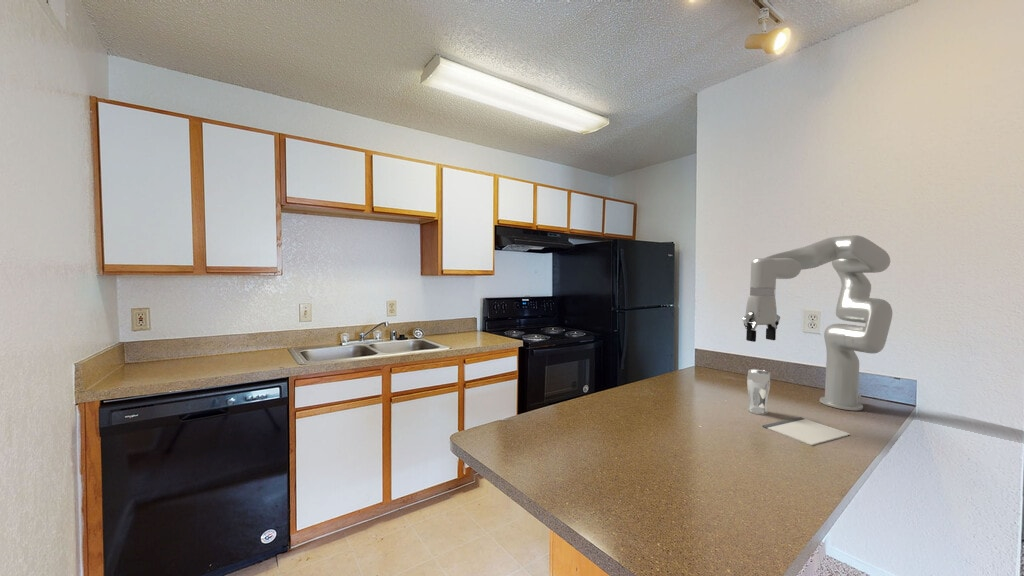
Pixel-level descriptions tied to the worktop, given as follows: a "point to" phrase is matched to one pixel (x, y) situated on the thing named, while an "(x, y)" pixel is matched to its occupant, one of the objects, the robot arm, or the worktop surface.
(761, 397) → the beer glass
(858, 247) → the robot arm
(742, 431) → the worktop surface
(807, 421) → the mat
